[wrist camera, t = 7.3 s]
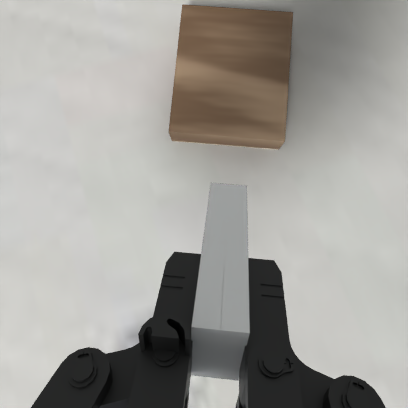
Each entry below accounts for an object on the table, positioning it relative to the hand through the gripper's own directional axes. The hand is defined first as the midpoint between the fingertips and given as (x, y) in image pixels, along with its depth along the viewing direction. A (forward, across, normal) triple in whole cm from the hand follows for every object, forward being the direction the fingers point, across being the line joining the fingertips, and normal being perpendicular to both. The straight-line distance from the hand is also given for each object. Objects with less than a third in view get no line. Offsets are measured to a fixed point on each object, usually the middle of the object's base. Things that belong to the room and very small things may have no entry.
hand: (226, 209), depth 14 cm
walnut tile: (+16, 0, -5) cm, 16 cm away
